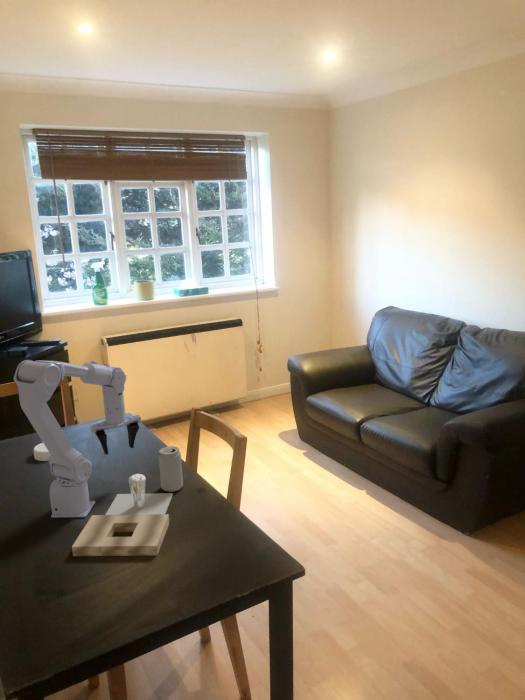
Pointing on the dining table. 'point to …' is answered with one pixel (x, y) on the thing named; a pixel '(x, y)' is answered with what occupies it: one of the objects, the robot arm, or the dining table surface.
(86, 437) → the dining table surface
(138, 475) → the milkshake
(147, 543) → the pocket holder
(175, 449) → the beverage can
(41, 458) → the white ridged disc
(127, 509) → the grey mat
